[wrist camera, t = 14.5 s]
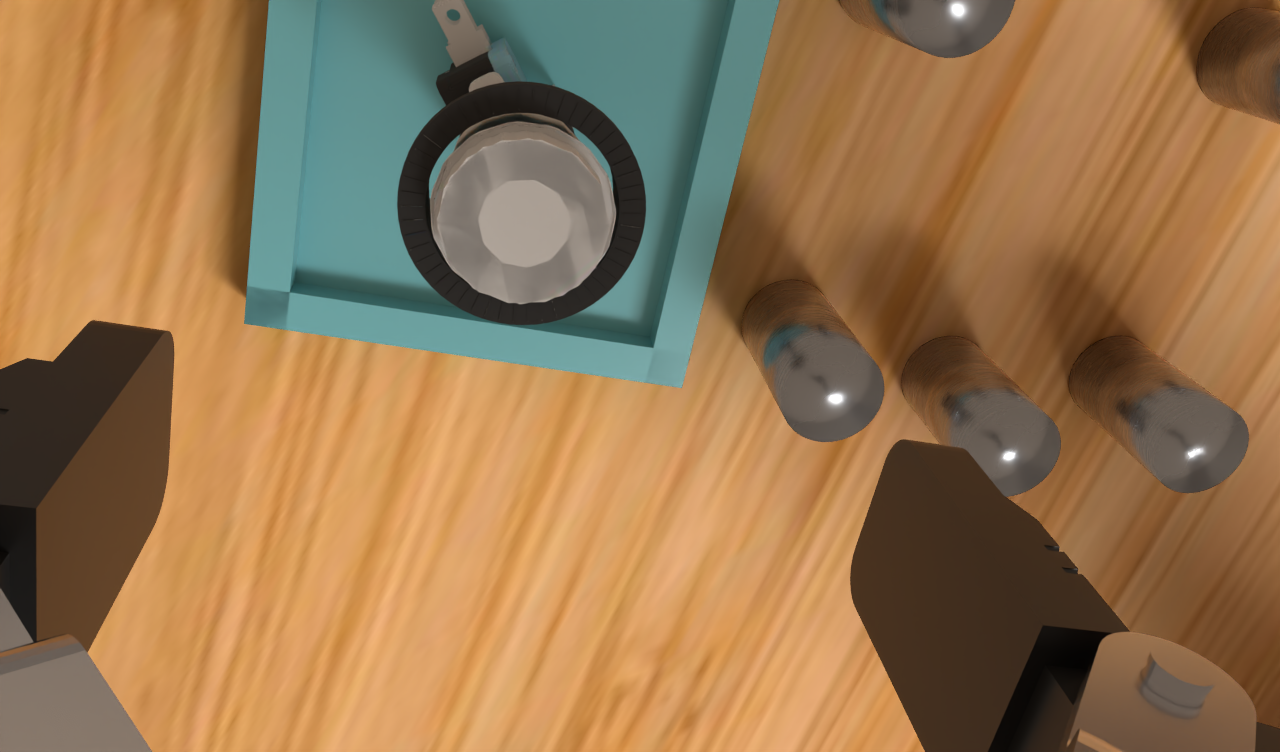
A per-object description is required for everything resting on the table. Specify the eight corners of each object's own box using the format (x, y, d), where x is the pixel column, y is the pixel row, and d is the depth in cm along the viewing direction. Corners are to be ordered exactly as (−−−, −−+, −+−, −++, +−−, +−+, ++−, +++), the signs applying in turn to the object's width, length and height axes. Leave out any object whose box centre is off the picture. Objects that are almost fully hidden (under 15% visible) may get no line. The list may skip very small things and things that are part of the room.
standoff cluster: (1305, 18, 34) (1444, 44, 29) (1121, 443, 40) (1210, 525, 35) (852, -92, 31) (920, -84, 26) (724, 384, 37) (760, 464, 32)
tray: (798, -133, 30) (812, -134, 29) (674, 368, 36) (681, 387, 35) (299, -257, 28) (288, -264, 26) (254, 305, 34) (244, 323, 32)
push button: (363, 36, 30) (306, 106, 21) (535, -53, 30) (551, -19, 21) (479, 242, 33) (472, 381, 24) (637, 164, 33) (691, 276, 24)
